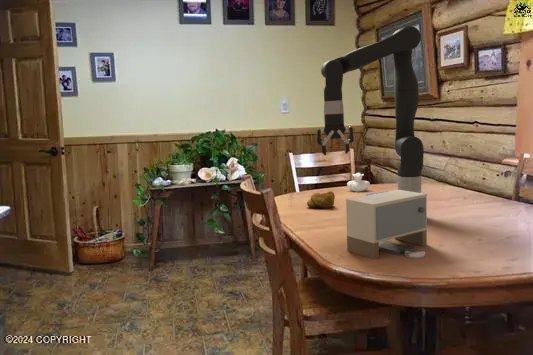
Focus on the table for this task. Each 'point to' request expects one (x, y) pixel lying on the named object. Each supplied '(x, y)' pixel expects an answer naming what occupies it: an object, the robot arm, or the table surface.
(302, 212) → the table surface
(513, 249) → the table surface
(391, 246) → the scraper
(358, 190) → the white animal figurine
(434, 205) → the table surface
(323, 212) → the table surface
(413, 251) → the steel token
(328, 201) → the bread roll
